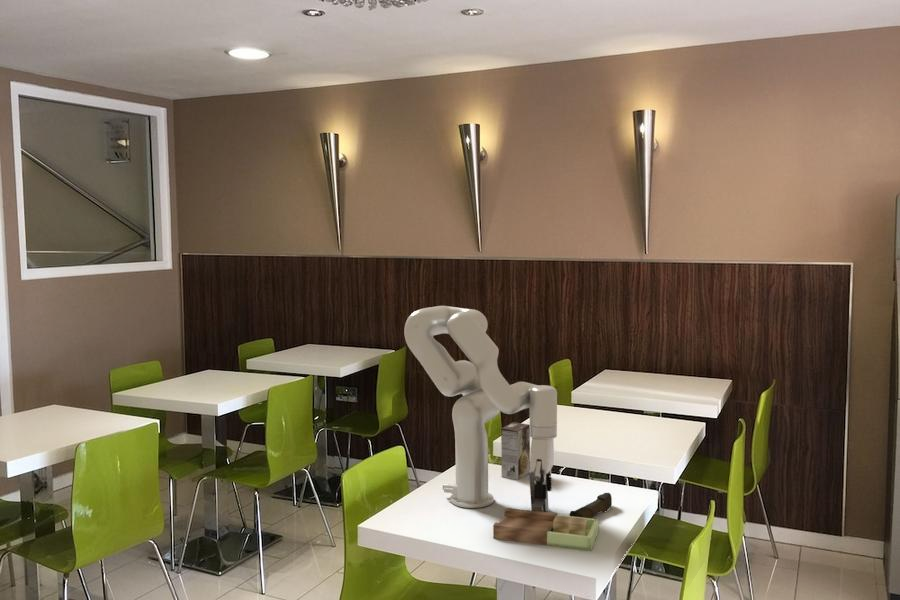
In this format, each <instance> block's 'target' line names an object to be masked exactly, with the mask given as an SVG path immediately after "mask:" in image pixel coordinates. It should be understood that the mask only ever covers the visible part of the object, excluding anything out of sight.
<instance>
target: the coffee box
mask: <svg viewBox="0 0 900 600" xmlns="http://www.w3.org/2000/svg"><path fill="white" fill-rule="evenodd" d="M500 432H501V436H500V437H501V438H500V439H501V441H500V442H501V443H500V444H501V446H500V447H501V455H500V456H501V459H500V461H501V464H500V466H501V477H502V478H504V479H505V478H506V479H511V480H520V479H521V478H523V477H525V476H526V475H529V473H530V455H531V439H530V438H531V437H530V423H529V424H528V423H522V422H516V421H513V422H511V423H508V424H507V425H506V426H504V427H501V430H500Z"/></svg>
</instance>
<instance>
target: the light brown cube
mask: <svg viewBox="0 0 900 600" xmlns="http://www.w3.org/2000/svg"><path fill="white" fill-rule="evenodd" d="M565 516H566V515H565ZM565 516H556V517H555V519H554V521H553V532H559V533H567V534H569V522H570V520H571V518H572V517H565Z"/></svg>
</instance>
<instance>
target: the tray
mask: <svg viewBox="0 0 900 600" xmlns="http://www.w3.org/2000/svg"><path fill="white" fill-rule="evenodd" d="M557 516H565V517H573V516H570V515H565V514H563V515H562V514H557ZM574 518H582V517H574ZM582 519H587V536H583V535H575V534H567V533H559V532H550V531H548V532H547V545H546V546H552V547H559V548H560V547H561V548H565V549H566V548H567V549H569V548H570V549H574V550H582V551H583V550H584V551H592V549H593V546H594V544H595V542H596V540H595V539H597V537H598V535H599V532H600V519H597V518H592V517H591V518H582ZM597 534H598V535H597Z"/></svg>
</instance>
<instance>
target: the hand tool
mask: <svg viewBox="0 0 900 600" xmlns="http://www.w3.org/2000/svg"><path fill="white" fill-rule="evenodd" d="M612 500H613V498H612V493H610V492H604V493H602V494H598V496H597V497H596V499H595V500H594V501H591V502H590V503H588V504H586V505H584V506H582V507H580V508H577V509H576V510H570V513H569V516H573V517H582V518H591V519H592V517H595V516H596V515H598V514H600V513H605V511H606V512H608V511H609V510H608V509H609V508H610V509H611V507H612V506H613V505H612V503H613V502H612ZM607 510H608V511H607Z"/></svg>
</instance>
